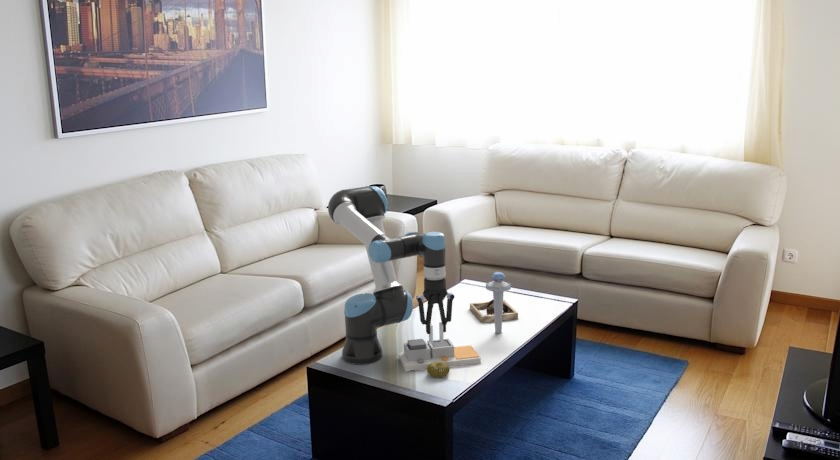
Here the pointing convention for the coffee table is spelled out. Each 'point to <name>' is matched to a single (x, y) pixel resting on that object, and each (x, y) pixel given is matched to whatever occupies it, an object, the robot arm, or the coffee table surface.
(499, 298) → the novelty light stick
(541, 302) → the coffee table surface
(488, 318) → the mug frame
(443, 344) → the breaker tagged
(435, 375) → the sculpture
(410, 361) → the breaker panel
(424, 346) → the block
